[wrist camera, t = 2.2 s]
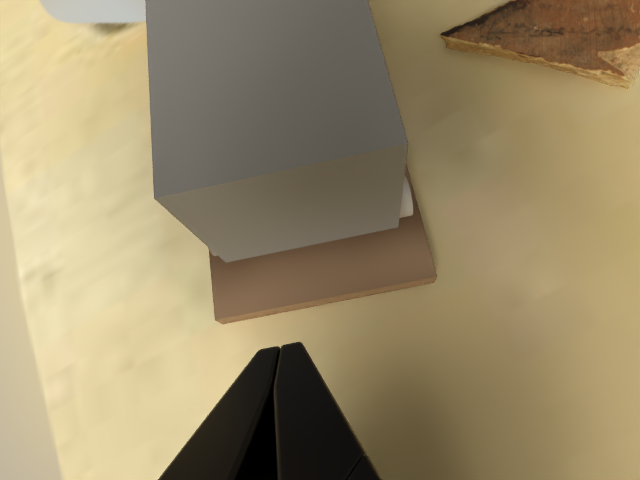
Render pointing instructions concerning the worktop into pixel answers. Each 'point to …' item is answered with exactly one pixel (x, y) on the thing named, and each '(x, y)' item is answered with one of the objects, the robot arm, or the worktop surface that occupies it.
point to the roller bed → (325, 270)
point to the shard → (560, 36)
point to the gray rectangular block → (272, 122)
